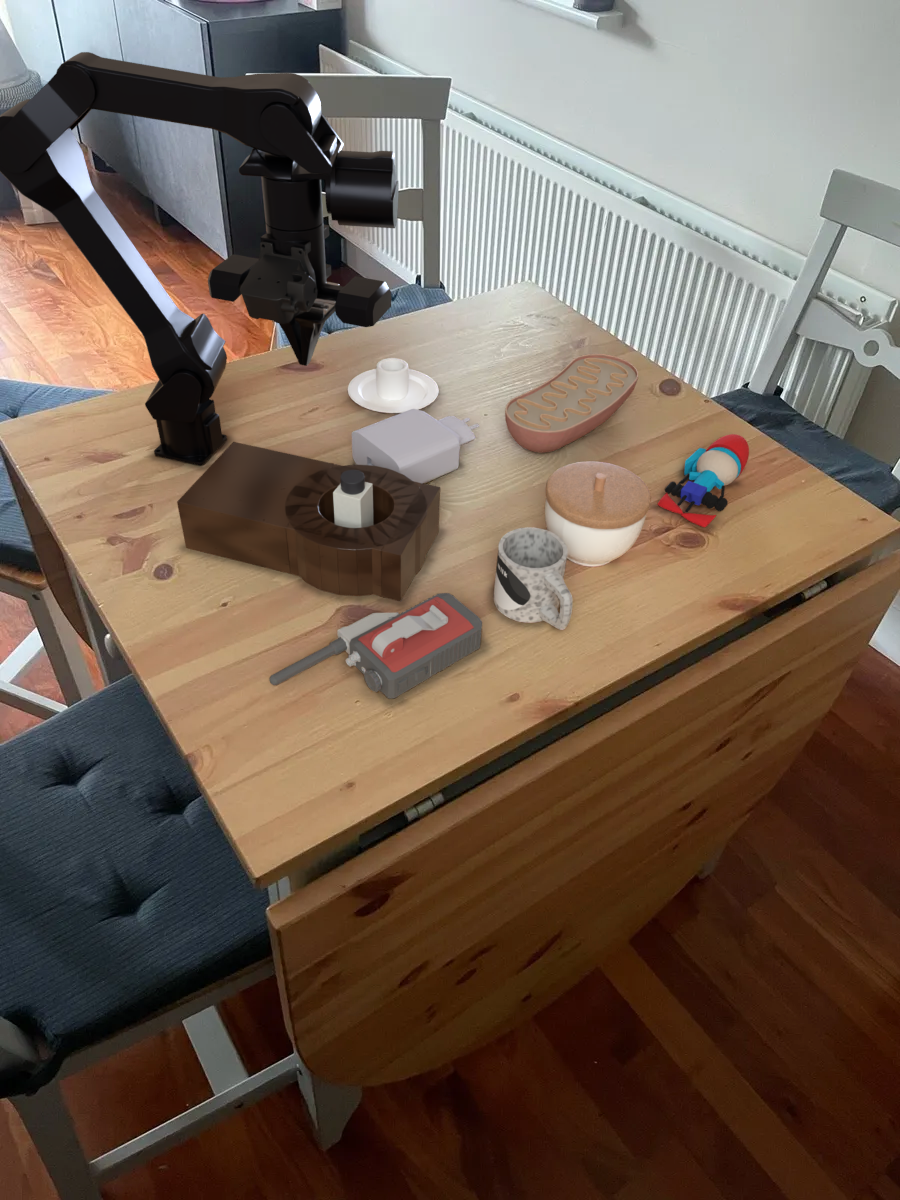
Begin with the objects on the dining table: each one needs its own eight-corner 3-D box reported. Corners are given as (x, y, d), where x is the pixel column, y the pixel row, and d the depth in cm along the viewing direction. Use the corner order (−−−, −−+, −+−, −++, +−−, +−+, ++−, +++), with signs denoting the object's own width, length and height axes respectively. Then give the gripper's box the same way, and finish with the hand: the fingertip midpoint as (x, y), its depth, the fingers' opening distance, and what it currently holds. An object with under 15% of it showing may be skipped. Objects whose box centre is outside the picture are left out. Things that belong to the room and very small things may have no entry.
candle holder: (386, 363, 127) (386, 334, 124) (456, 391, 122) (457, 361, 120) (329, 397, 120) (327, 367, 117) (401, 428, 115) (401, 397, 112)
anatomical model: (586, 380, 126) (591, 346, 123) (649, 405, 122) (656, 371, 118) (487, 448, 112) (490, 412, 109) (554, 479, 108) (559, 442, 105)
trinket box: (657, 550, 99) (675, 478, 92) (596, 595, 93) (611, 522, 87) (580, 506, 104) (592, 435, 98) (518, 546, 98) (526, 474, 92)
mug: (481, 590, 93) (485, 538, 88) (535, 571, 95) (542, 520, 91) (535, 652, 86) (542, 600, 82) (592, 630, 89) (602, 579, 85)
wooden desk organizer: (179, 554, 95) (170, 508, 91) (244, 480, 105) (238, 435, 101) (398, 610, 90) (398, 563, 86) (443, 526, 100) (446, 481, 96)
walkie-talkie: (436, 594, 92) (265, 685, 82) (437, 560, 89) (260, 650, 79) (495, 643, 87) (320, 745, 77) (498, 609, 84) (317, 711, 74)
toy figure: (709, 541, 103) (766, 465, 110) (713, 508, 99) (771, 432, 106) (649, 519, 106) (707, 447, 114) (650, 487, 103) (710, 414, 110)
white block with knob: (332, 480, 90) (359, 487, 89) (345, 465, 92) (372, 471, 91) (336, 554, 96) (362, 562, 95) (348, 538, 98) (374, 545, 97)
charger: (497, 455, 111) (399, 499, 104) (449, 423, 116) (352, 462, 109) (500, 421, 108) (399, 463, 101) (450, 389, 113) (350, 427, 106)
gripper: (168, 234, 87) (193, 381, 98) (348, 266, 83) (354, 415, 94) (225, 197, 95) (242, 337, 106) (392, 225, 91) (393, 367, 102)
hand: (305, 363), depth 102 cm, fingers closed
